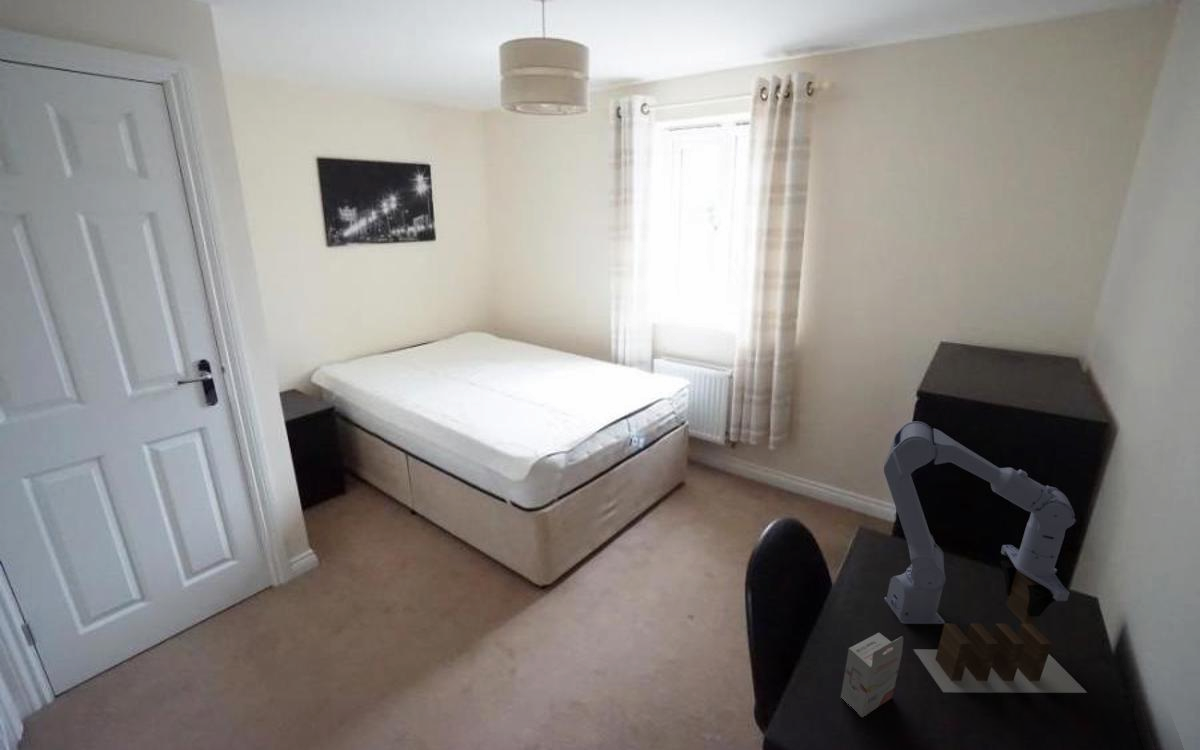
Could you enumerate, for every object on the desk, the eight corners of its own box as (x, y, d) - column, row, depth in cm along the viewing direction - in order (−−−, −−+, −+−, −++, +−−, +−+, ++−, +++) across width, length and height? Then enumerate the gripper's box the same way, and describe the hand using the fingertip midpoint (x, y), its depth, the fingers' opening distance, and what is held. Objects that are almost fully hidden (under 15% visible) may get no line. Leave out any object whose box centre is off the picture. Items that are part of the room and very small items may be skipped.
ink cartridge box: (868, 679, 103) (881, 617, 98) (892, 699, 98) (907, 636, 94) (838, 697, 99) (850, 634, 94) (861, 719, 95) (875, 654, 90)
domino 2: (976, 680, 102) (987, 643, 99) (960, 659, 107) (970, 623, 104) (987, 680, 102) (998, 643, 99) (970, 659, 107) (980, 623, 104)
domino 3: (1002, 680, 102) (1014, 643, 99) (985, 659, 107) (995, 623, 104) (1013, 680, 102) (1025, 643, 99) (994, 659, 107) (1005, 623, 104)
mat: (942, 693, 100) (943, 692, 99) (912, 650, 109) (913, 649, 109) (1086, 694, 100) (1087, 692, 99) (1044, 651, 109) (1044, 649, 109)
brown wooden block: (1024, 623, 107) (1035, 586, 104) (1006, 605, 112) (1016, 569, 109) (1034, 623, 107) (1045, 586, 104) (1015, 605, 112) (1026, 569, 109)
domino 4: (1029, 680, 102) (1041, 643, 99) (1009, 659, 107) (1021, 623, 104) (1039, 680, 102) (1052, 643, 99) (1019, 659, 107) (1031, 623, 104)
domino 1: (950, 680, 102) (961, 643, 99) (935, 659, 107) (944, 623, 104) (961, 680, 102) (971, 643, 99) (945, 659, 107) (954, 623, 104)
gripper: (1092, 572, 97) (1072, 632, 102) (1031, 526, 111) (1015, 580, 115) (1054, 573, 97) (1035, 632, 102) (997, 527, 111) (983, 580, 115)
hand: (1022, 604), depth 108 cm, fingers closed on brown wooden block, 5 cm apart
